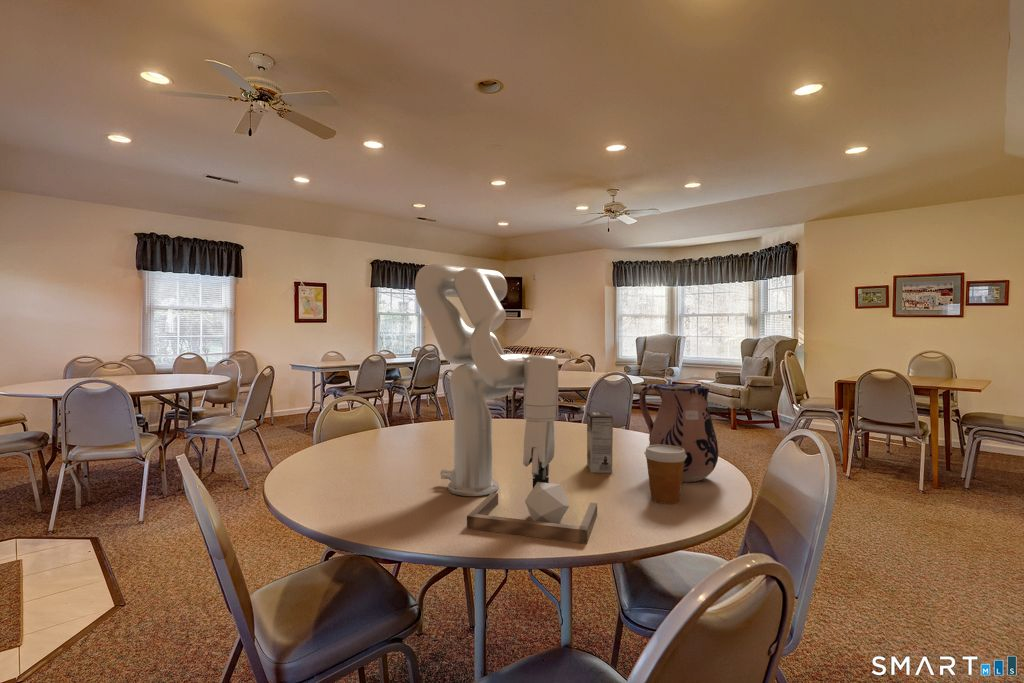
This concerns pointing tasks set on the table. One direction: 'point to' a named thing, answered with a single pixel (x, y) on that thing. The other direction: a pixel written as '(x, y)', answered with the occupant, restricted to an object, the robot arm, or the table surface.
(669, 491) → the disposable coffee cup
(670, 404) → the ceramic pitcher
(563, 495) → the die
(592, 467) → the coffee box
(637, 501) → the table surface
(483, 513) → the wooden u-shaped frame
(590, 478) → the table surface
